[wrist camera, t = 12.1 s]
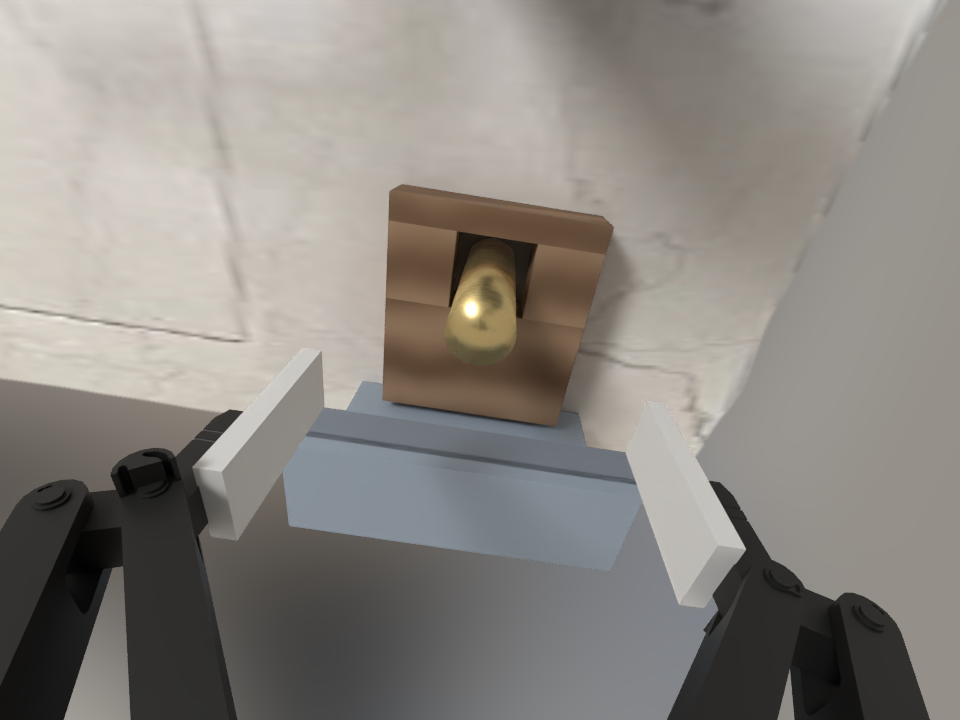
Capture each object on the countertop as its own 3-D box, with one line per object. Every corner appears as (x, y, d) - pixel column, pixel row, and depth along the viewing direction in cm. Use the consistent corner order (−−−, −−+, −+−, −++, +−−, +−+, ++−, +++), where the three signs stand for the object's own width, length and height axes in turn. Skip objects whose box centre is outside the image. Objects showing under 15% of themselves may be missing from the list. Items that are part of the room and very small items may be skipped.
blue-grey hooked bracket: (363, 327, 39) (279, 444, 25) (594, 363, 40) (644, 497, 25) (362, 391, 43) (289, 525, 28) (575, 423, 43) (609, 571, 29)
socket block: (402, 184, 33) (389, 191, 29) (602, 216, 33) (613, 227, 30) (392, 377, 42) (382, 400, 38) (551, 401, 42) (555, 426, 39)
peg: (521, 275, 36) (526, 352, 24) (479, 291, 37) (462, 374, 25) (504, 230, 34) (500, 290, 22) (459, 249, 35) (432, 316, 23)
